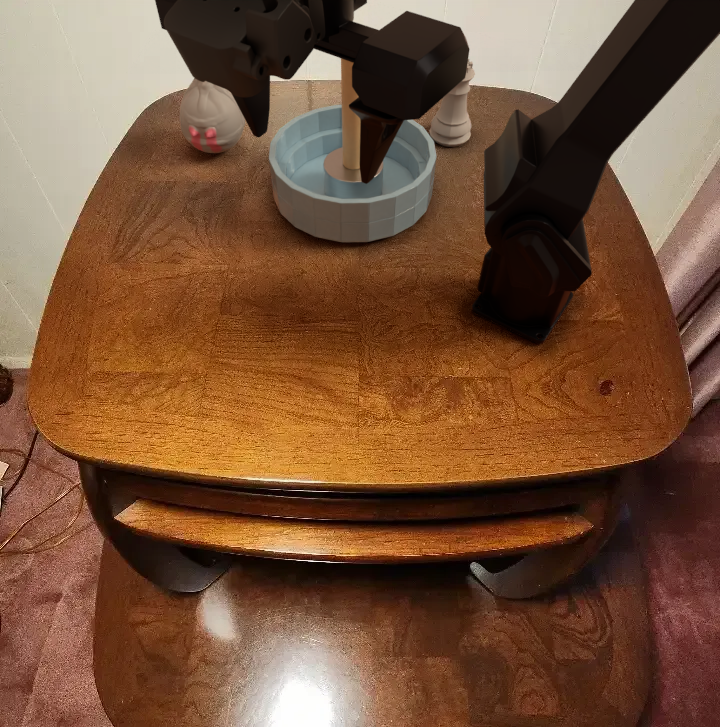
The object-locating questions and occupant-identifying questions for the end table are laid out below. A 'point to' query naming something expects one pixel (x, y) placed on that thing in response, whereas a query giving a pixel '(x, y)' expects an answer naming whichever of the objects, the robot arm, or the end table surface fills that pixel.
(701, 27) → the robot arm
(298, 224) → the bowl
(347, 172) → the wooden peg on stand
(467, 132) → the rook chess piece
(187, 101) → the figurine
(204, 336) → the end table surface
